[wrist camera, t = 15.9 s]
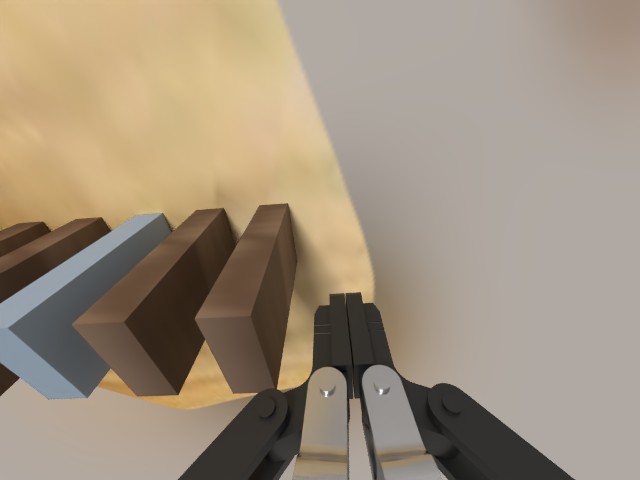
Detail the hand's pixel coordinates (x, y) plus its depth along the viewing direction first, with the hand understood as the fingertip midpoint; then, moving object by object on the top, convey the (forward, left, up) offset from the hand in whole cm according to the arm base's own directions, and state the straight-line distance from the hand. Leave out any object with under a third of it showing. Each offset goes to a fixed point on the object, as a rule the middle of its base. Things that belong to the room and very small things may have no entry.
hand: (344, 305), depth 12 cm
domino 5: (-4, 0, -7) cm, 8 cm away
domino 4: (-9, 0, -7) cm, 12 cm away
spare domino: (-13, 0, -7) cm, 15 cm away
